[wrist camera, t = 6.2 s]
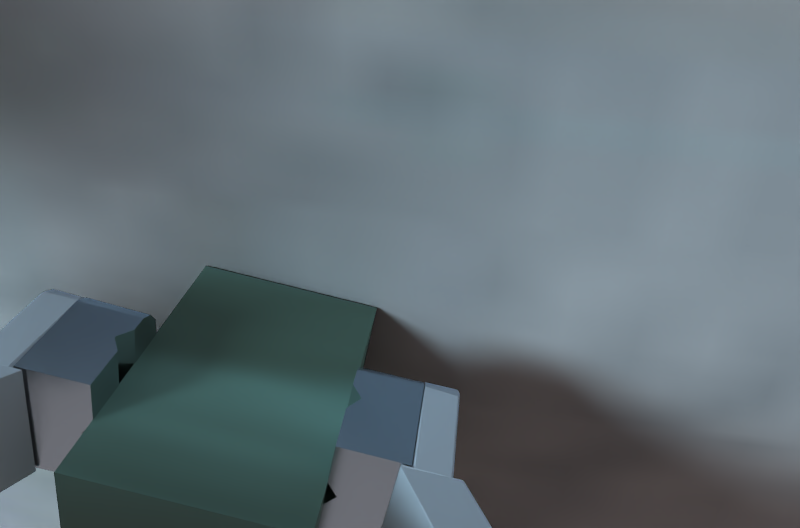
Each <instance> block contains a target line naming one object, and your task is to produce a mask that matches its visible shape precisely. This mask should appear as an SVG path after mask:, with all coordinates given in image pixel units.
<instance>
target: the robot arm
mask: <svg viewBox="0 0 800 528" xmlns="http://www.w3.org/2000/svg"><path fill="white" fill-rule="evenodd" d="M155 335H156V320H155V319H154V318H153V317H152V316H151V315H149V314H146V313H142V312H138V311H135V310H131V309H127V308H124V307H120V306H116V305H113V304H109V303H105V302H102V301H98V300H94V299H91V298H87V297H86V298H84V297H81V296H77V295H74V294H70V293H66V292H63V291H59V290H56V289H51V290H47V291H44V292H42V293H41V294H40V295H38V296H37V297H36V298H35V299H34V300H33V301H32V302H31V303H30V304H29V305H28V306H26V307H25V308H24V309H23V310H22V311H21V312H20V313H19V314H18V315H17V316H16V317H15V318H13V319H12V320H11V321H10V322H9V323H8V324H7V325H6V326H5V327H4V328H3V329H2V330H0V492H2V491H3V490H5V489H7V488H8V487H10V486H12V485H13V484H15V483H17V482H18V481H20V480H22V479H23V478H25V477H27V476H28V475H30V474H32V473H33V472H35V471H36V468H41V469H45V470H50V471H54V472H55V470H56V469H57V468H58V466H59V465H60V463H61V462H62V461H63V459H64V458H65V457H66V455H67V454H68V453H69V451H70V450H71V449H72V447H73V446H74V444H75V443H76V442H77V440H78V439H79V438H80V436H81V435H82V434H83V432H84V431H85V430H86V428H87V427H88V425H89V424H90V423H91V421H92V420H93V419H94V418H95V417H96V415H97V414H98V413H99V411H100V410H101V409H102V407H103V406H104V405H105V403H106V402H107V401H108V399H109V398H110V397H111V395H112V394H113V393H114V391H115V390H116V389H117V387H118V386H119V383H120V382H121V381H122V379H123V378H124V377H125V375H126V374H127V373H128V371H129V370H130V368H131V367H132V366H133V364H134V363H136V362H137V360H138V359H139V357H140V356H141V355H142V353H143V352H144V350H145V349H146V348H147V346H148V345H149V343H150V342H151V341H152V339H153V338H154V337H155ZM459 399H460V394H459V392H458V390H457V389H453V388H448V387H444V386H440V385H435V384H431V383H427V382H425V383H423V382H420V381H416V380H412V379H407V378H403V377H399V376H395V375H391V374H387V373H383V372H378V371H374V370H370V369H366V368H362V367H358V369H357V373H356V376H355V379H354V383H353V386H352V391H351V395H350V399H349V403H348V407H347V408H346V410H345V414H344V417H343V421H342V425H341V428H340V432H339V435H338V439H337V443H336V446H335V450H334V455H333V459H332V463H331V468H330V472H329V476H328V488H327V491H326V495H325V499H324V502H323V506H322V511H321V515H320V520H319V524H318V528H492V527H491V525H490V523H489V522H488V520H487V518H486V517H485V515H484V513H483V512H482V510H481V508H480V507H479V505H478V503H477V502H476V500H475V498H474V497H473V495H472V493H471V492H470V490H469V488H468V487H467V485H466V483H465V482H464V481H463V480H460V479H456V478H453V477H454V464H455V451H456V438H457V425H458V412H459ZM35 467H36V468H35Z"/></svg>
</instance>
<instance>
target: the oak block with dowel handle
mask: <svg viewBox="0 0 800 528" xmlns="http://www.w3.org/2000/svg"><path fill="white" fill-rule="evenodd" d="M376 310H377V308H375V307H371V306H367V305H363V304H359V303H355V302H351V301H347V300H342V299H338V298H334V297H330V296H326V295H322V294H318V293H314V292H310V291H306V290H302V289H298V288H294V287H290V286H286V285H282V284H278V283H274V282H270V281H266V280H262V279H257V278H253V277H249V276H245V275H241V274H237V273H233V272H229V271H225V270H221V269H217V268H213V267H209V266H206V267H205V268H204V269H203V271H202V272H201V273H200V275H199V276H198V278H197V279H196V280H195V282H194V283H193V284H192V286H191V287H190V288H189V290H188V291H187V292H186V294H185V295H184V297H183V298H182V299H181V301H180V302H179V303H178V305H177V306H176V307H175V309H174V310H173V311H172V313H171V314H170V316H169V317H168V318H167V320H166V321H165V322H164V324H163V325H162V326H161V328H160V329H159V330H158V332H157V333H156V335H155V337H154V338H153V339H152V341H151V342H150V343H149V345H148V346H147V348H146V349H145V350H144V352H143V353H142V355H141V356H140V357H139V359H138V360H137V362H136V363H134V364H133V366H132V367H131V368H130V370H129V371H128V373H127V374H126V375H125V377H124V378H123V379H122V381H121V382H120V383H119V386H118V387H117V389H116V390H115V391H114V393H113V394H112V395H111V397H110V398H109V399H108V401H107V402H106V403H105V405H104V406H103V407H102V409H101V410H100V411H99V413H98V414H97V415H96V417H95V418H94V419H93V420H92V421H91V423H90V424H89V425H88V427H87V428H86V430H85V431H84V432H83V434H82V435H81V436H80V438H79V439H78V440H77V442H76V443H75V444H74V446H73V447H72V449H71V450H70V451H69V453H68V454H67V455H66V457H65V458H64V459H63V461H62V462H61V463H60V465H59V466H58V468H57V469H56V470H55V472H54V476H55V485H56V493H57V501H58V509H59V518H60V526H61V528H318V524H319V520H320V515H321V511H322V506H323V502H324V499H325V495H326V491H327V488H328V476H329V472H330V468H331V463H332V459H333V455H334V450H335V446H336V443H337V439H338V435H339V432H340V428H341V425H342V421H343V417H344V414H345V410H346V408H347V407H348V403H349V399H350V395H351V391H352V386H353V383H354V379H355V376H356V373H357V369H358V367H362V368H363V366H364V362H365V358H366V353H367V349H368V345H369V340H370V336H371V332H372V327H373V323H374V319H375V314H376Z"/></svg>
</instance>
